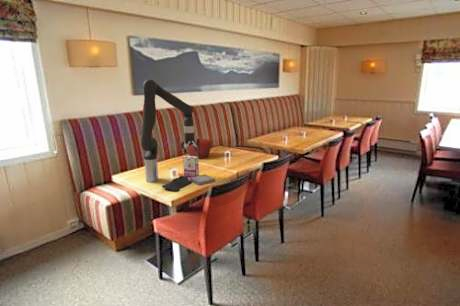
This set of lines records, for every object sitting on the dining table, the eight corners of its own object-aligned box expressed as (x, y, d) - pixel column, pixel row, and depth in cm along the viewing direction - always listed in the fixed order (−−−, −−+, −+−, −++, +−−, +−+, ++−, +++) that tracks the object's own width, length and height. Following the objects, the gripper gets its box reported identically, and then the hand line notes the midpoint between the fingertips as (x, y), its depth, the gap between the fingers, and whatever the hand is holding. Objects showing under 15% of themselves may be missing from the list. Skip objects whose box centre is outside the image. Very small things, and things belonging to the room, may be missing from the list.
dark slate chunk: (158, 189, 207) (158, 182, 206) (177, 179, 226) (177, 174, 225) (176, 192, 200) (175, 185, 199) (194, 182, 219) (194, 176, 218)
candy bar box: (199, 176, 231) (198, 156, 227) (196, 178, 227) (195, 157, 223) (187, 175, 236) (186, 155, 232) (183, 176, 231) (182, 156, 227)
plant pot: (199, 154, 306) (198, 138, 302) (213, 156, 294) (212, 140, 290) (185, 157, 291) (184, 141, 287) (199, 160, 279) (198, 143, 276)
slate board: (189, 180, 222) (189, 177, 222) (205, 176, 230) (205, 174, 230) (198, 185, 211) (198, 182, 211) (214, 181, 219) (214, 178, 219)
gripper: (195, 130, 230) (196, 150, 234) (178, 132, 222) (179, 153, 226) (199, 131, 224) (200, 152, 228) (183, 133, 216) (184, 155, 220)
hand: (190, 152), depth 227 cm, fingers open, 8 cm apart
